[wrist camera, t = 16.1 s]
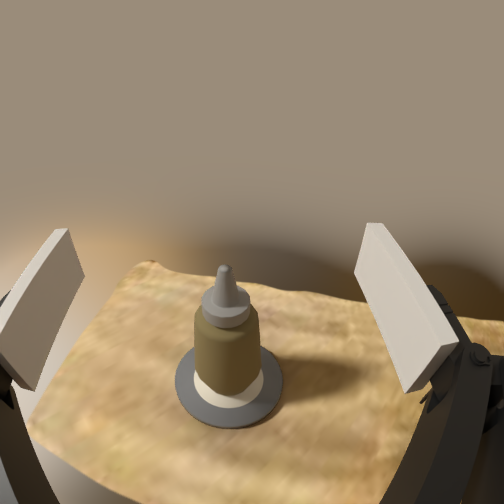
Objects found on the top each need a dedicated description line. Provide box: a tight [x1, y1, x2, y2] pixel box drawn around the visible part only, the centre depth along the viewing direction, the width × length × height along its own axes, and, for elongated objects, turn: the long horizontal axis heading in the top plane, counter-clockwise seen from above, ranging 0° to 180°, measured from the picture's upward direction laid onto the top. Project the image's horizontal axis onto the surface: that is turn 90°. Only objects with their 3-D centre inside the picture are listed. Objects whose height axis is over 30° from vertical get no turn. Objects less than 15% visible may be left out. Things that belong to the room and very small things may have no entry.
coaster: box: [175, 346, 283, 429], centre depth 37 cm, size 14×14×1 cm
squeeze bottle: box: [194, 265, 262, 396], centre depth 31 cm, size 8×8×18 cm
